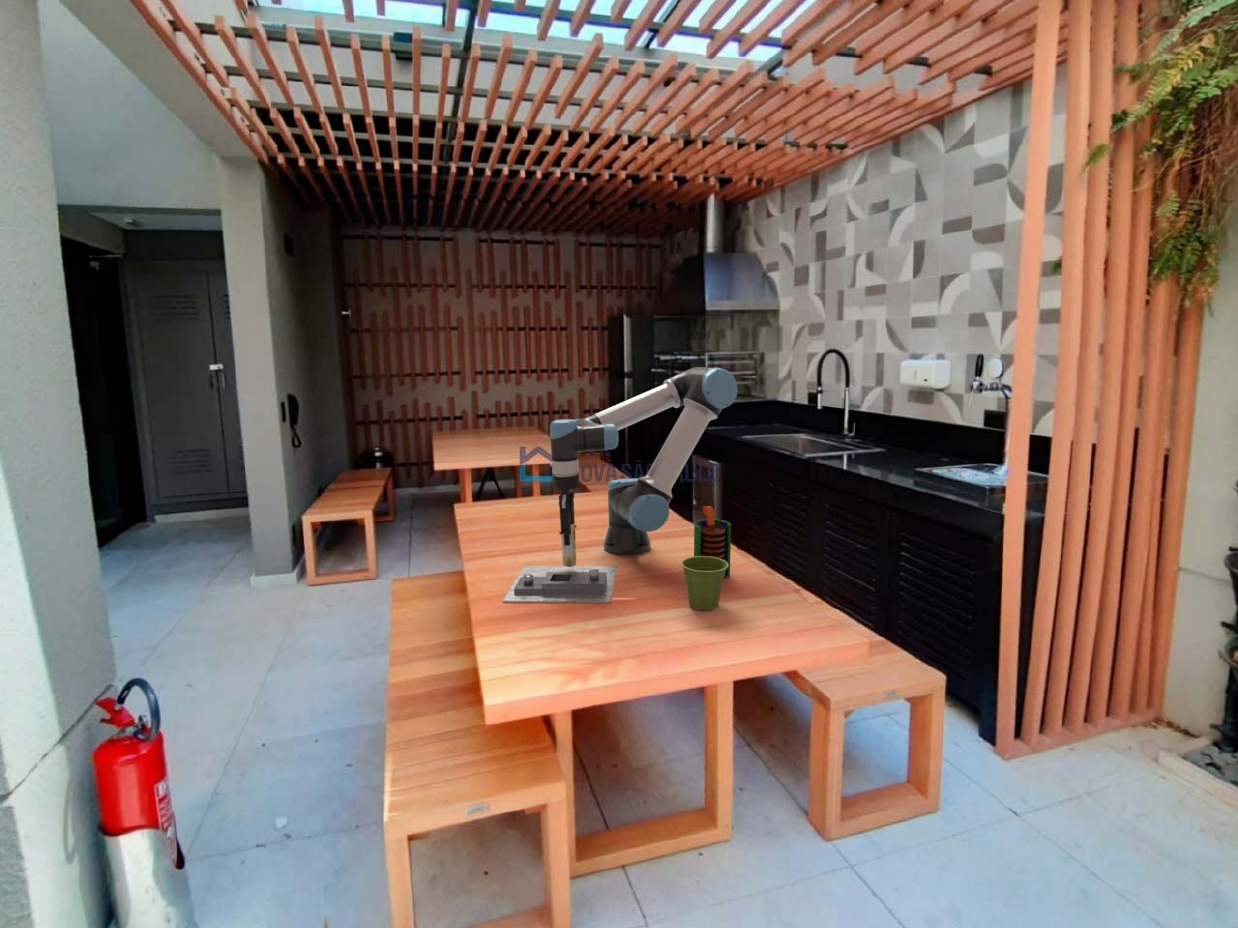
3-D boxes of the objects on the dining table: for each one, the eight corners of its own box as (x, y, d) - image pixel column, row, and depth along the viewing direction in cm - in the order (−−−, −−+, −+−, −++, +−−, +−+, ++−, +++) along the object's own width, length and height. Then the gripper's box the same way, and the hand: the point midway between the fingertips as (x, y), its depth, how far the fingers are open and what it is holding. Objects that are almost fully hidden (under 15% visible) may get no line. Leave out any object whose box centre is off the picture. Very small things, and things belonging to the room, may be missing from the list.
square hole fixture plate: (617, 567, 196) (617, 550, 195) (610, 603, 170) (609, 582, 169) (524, 567, 198) (523, 549, 197) (502, 602, 171) (501, 582, 170)
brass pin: (577, 562, 195) (575, 522, 192) (575, 566, 191) (573, 526, 188) (563, 562, 195) (562, 523, 193) (561, 566, 191) (559, 526, 189)
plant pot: (716, 618, 159) (717, 574, 157) (672, 609, 165) (672, 566, 163) (735, 602, 169) (735, 560, 167) (693, 593, 175) (693, 553, 173)
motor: (704, 584, 181) (705, 514, 178) (686, 575, 189) (686, 507, 185) (734, 578, 186) (735, 509, 182) (715, 568, 194) (716, 502, 190)
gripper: (557, 468, 196) (560, 543, 201) (547, 480, 180) (551, 562, 184) (582, 468, 196) (585, 543, 200) (574, 480, 179) (578, 562, 183)
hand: (569, 552), depth 192 cm, fingers closed on brass pin, 4 cm apart
